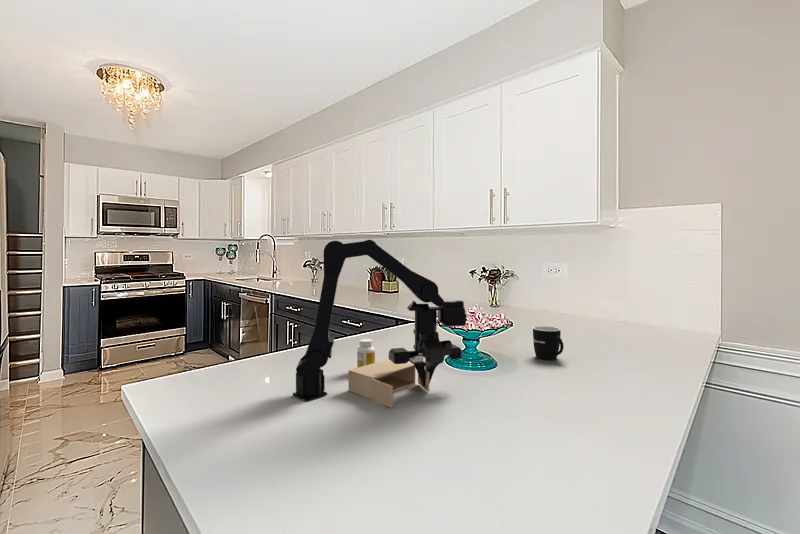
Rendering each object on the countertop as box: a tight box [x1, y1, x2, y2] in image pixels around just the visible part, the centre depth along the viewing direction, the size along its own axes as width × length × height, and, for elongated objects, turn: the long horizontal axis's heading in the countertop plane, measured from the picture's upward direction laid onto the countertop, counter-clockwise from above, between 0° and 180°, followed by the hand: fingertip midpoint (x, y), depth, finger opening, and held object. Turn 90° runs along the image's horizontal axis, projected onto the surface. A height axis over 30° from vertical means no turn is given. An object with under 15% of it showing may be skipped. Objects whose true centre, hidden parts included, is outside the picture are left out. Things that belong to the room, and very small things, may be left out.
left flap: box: [370, 379, 394, 408], centre depth 101 cm, size 8×1×5 cm, turn 42°
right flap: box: [417, 369, 430, 392], centre depth 113 cm, size 8×1×5 cm, turn 17°
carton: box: [347, 358, 417, 399], centre depth 114 cm, size 16×10×6 cm, turn 137°
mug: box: [532, 325, 564, 361], centre depth 143 cm, size 12×9×10 cm
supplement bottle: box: [356, 338, 376, 368], centre depth 128 cm, size 5×5×10 cm
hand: (425, 386), depth 111 cm, fingers closed, pressing on right flap
